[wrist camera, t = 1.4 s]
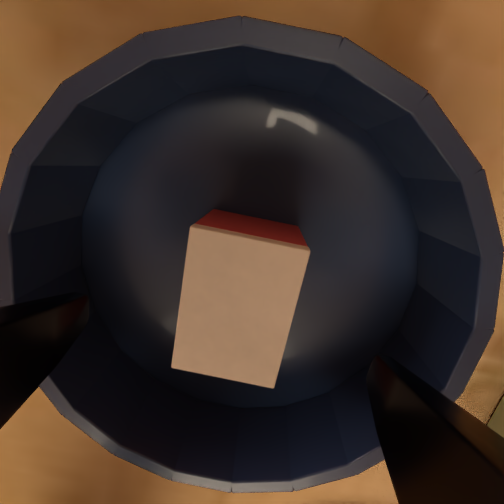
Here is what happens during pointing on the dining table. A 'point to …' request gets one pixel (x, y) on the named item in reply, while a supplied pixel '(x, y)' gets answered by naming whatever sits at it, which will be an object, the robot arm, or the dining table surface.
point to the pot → (260, 206)
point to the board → (498, 419)
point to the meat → (238, 297)
